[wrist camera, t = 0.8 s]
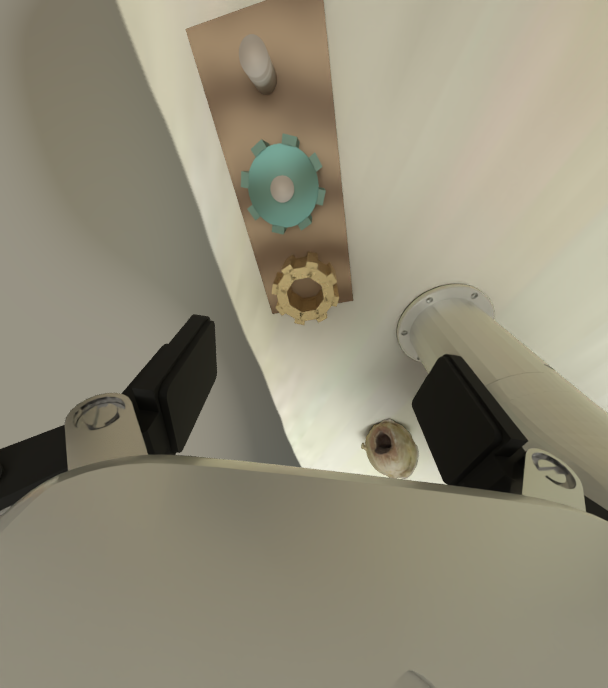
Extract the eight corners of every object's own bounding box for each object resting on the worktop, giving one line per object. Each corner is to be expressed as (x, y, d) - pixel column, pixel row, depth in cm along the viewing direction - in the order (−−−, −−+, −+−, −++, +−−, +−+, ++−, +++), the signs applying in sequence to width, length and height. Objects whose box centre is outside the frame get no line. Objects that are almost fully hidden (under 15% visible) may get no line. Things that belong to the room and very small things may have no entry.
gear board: (351, 295, 34) (358, 319, 29) (274, 308, 35) (266, 333, 30) (321, -8, 20) (322, -75, 14) (193, 37, 21) (151, -9, 16)
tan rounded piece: (403, 415, 51) (440, 457, 43) (383, 443, 54) (414, 488, 46) (367, 413, 47) (400, 460, 39) (348, 444, 50) (375, 493, 42)
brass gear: (339, 304, 33) (342, 318, 30) (285, 313, 34) (281, 328, 31) (331, 246, 29) (333, 256, 26) (270, 258, 30) (264, 269, 27)
